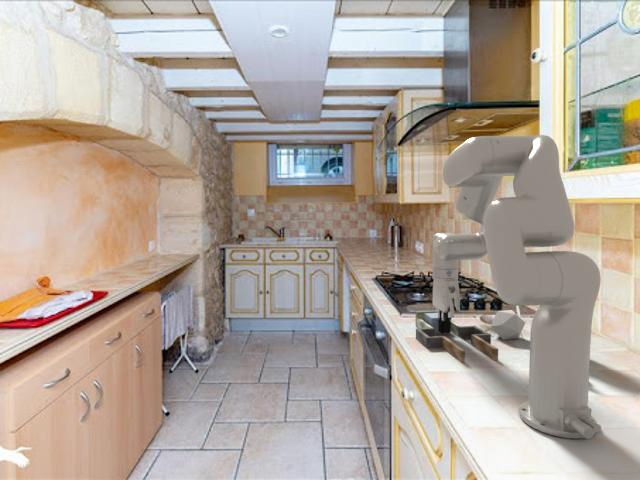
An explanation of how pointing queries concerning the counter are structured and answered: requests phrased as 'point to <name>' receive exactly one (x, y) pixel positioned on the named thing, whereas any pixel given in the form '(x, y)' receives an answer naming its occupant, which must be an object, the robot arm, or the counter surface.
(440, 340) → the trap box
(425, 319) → the block
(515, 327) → the grey faceted solid
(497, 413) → the counter surface
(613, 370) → the counter surface
